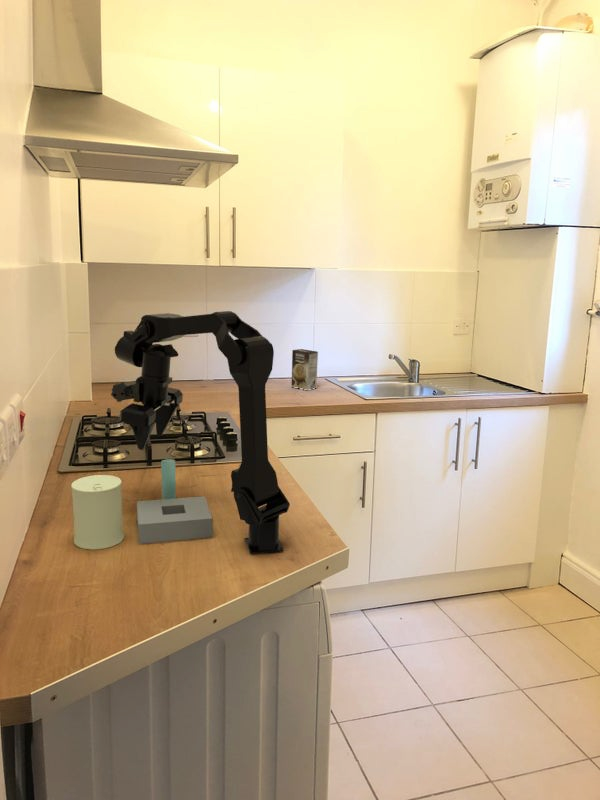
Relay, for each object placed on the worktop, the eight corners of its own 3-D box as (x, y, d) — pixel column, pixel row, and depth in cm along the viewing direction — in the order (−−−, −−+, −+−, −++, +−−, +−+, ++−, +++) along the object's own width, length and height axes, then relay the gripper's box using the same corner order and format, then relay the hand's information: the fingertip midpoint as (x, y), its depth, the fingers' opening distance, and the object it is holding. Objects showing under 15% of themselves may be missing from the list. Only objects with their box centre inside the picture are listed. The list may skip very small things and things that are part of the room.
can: (76, 553, 119) (72, 491, 116) (72, 533, 127) (68, 475, 124) (127, 545, 122) (125, 485, 120) (120, 526, 130) (118, 470, 128)
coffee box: (290, 388, 271) (291, 349, 267) (300, 385, 275) (301, 348, 272) (307, 391, 265) (308, 352, 261) (317, 389, 270) (318, 350, 266)
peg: (176, 506, 141) (175, 463, 139) (162, 507, 141) (161, 463, 138) (175, 501, 144) (174, 458, 142) (161, 502, 143) (160, 459, 141)
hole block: (212, 537, 126) (212, 518, 125) (139, 544, 123) (138, 524, 122) (204, 513, 138) (204, 496, 137) (137, 519, 134) (136, 501, 133)
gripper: (139, 356, 145) (135, 421, 149) (97, 376, 127) (94, 449, 132) (186, 366, 143) (180, 431, 147) (149, 387, 125) (144, 460, 130)
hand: (150, 442), depth 139 cm, fingers open, 9 cm apart
